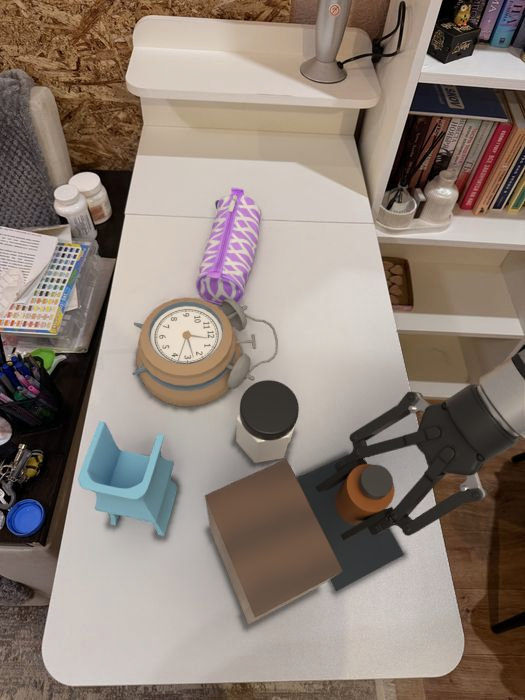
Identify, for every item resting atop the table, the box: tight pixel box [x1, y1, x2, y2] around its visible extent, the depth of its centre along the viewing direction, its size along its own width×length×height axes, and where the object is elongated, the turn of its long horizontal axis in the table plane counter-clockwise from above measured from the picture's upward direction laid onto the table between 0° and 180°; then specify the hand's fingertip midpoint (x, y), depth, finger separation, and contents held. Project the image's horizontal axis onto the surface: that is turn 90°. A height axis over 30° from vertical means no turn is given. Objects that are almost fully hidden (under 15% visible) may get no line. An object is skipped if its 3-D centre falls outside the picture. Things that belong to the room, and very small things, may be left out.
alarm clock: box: [131, 297, 279, 408], centre depth 82 cm, size 17×9×23 cm
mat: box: [296, 454, 405, 592], centre depth 74 cm, size 16×11×1 cm
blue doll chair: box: [77, 420, 178, 537], centre depth 65 cm, size 8×8×20 cm
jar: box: [235, 379, 300, 464], centre depth 75 cm, size 9×8×12 cm
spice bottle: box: [335, 463, 395, 525], centre depth 62 cm, size 6×6×11 cm
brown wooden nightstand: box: [204, 458, 343, 625], centre depth 62 cm, size 13×10×20 cm
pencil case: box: [196, 187, 262, 306], centre depth 93 cm, size 22×9×10 cm, turn 173°
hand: (334, 511), depth 63 cm, fingers closed on spice bottle, 6 cm apart
